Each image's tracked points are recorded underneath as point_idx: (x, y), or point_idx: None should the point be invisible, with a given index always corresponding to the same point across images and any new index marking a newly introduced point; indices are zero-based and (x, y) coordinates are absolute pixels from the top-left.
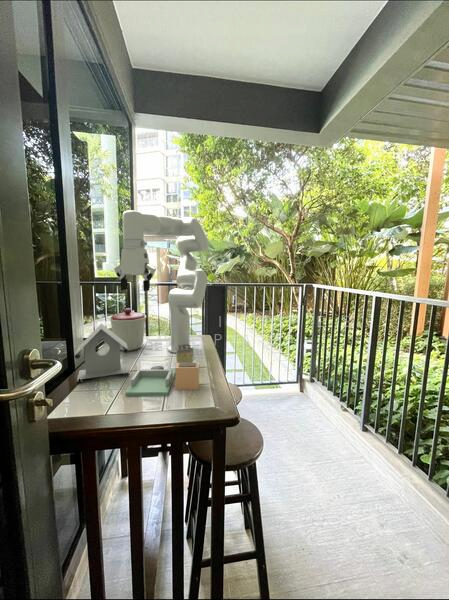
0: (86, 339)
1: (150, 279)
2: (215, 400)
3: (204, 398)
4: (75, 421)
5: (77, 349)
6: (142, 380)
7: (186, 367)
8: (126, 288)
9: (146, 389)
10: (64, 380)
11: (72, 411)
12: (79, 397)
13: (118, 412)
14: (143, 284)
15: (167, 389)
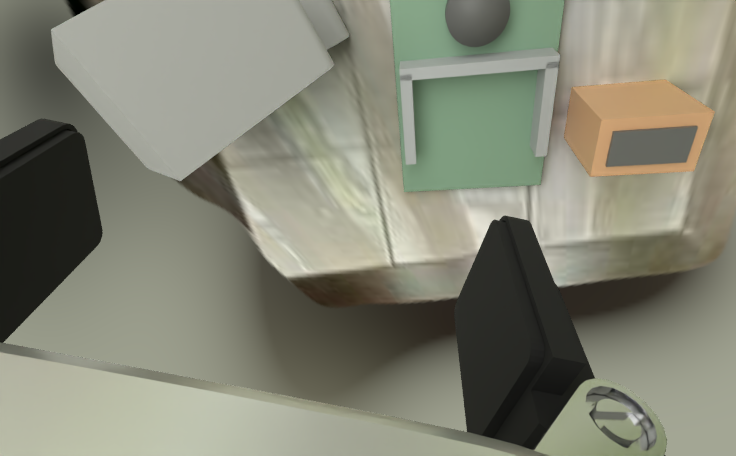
0: (74, 77)
1: (633, 414)
2: (693, 199)
3: (660, 189)
4: (341, 286)
5: (90, 103)
6: (431, 104)
7: (640, 169)
8: (76, 163)
9: (465, 171)
10: None
11: (307, 256)
12: (275, 198)
13: (419, 257)
14: (467, 389)
15: (538, 168)
